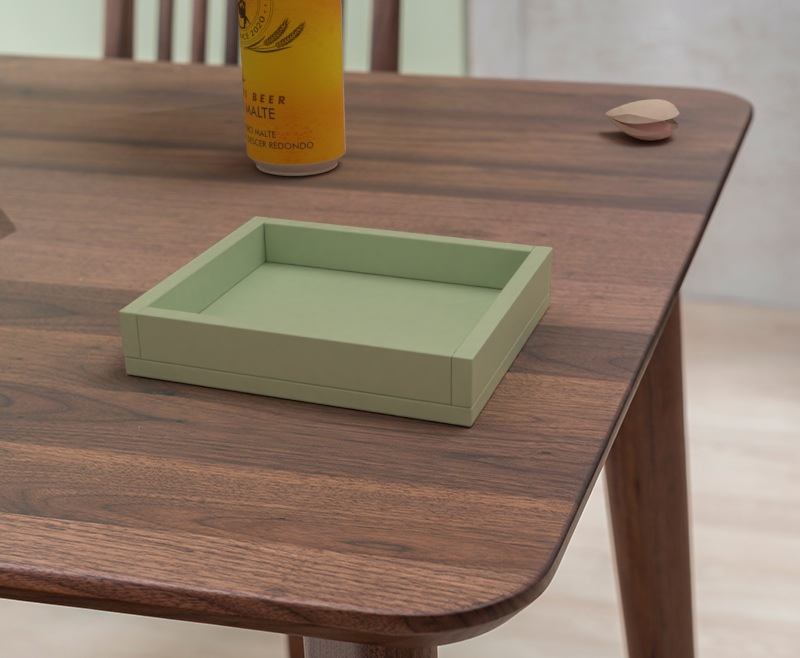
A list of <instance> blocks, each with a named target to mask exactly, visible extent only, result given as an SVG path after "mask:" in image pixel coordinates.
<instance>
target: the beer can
mask: <svg viewBox="0 0 800 658" xmlns="http://www.w3.org/2000/svg"><path fill="white" fill-rule="evenodd" d="M236 2H237V16H238V17H237V18H238V31H239V45H240V46H239V47H240V62H241V63H240V65H241V77H242V78H241V79H242V92H243V93H242V94H243V95H242V96H243V107H244V108H243V110H244V125H245V127H244V128H245V142H246V154H247V157H248V158H249V159H251V161H253V162H254V163H255V165H256V168H257V169H258V170H259V171H260V172H263V173H266V174H270V175H274V176H283V177H304V176H313V175H318V174H323V173H326V172H329V171H332V170H334V169H335V168H337V166H338V163H339V161H340V159H341V158H342V157H343V156H344V155H345V154H346V148H347V147H346V117H345V111H346V110H345V81H344V80H345V79H344V77H345V75H344V47H343V46H344V41H343V40H344V39H343V8H342V0H237V1H236Z"/></svg>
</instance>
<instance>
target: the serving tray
mask: <svg viewBox="0 0 800 658" xmlns="http://www.w3.org/2000/svg"><path fill="white" fill-rule="evenodd" d="M553 255H554V248H553V247H552V246H544V245H543V246H542V245H531V244H522V243H521V244H520V243H512V242H501V241H494V240H493V241H492V240H482V239H474V238H466V237H465V238H464V237H455V236H447V235H438V234H437V235H436V234H427V233H417V232H408V231H399V230H389V229H380V228H371V227H362V226H361V227H360V226H351V225H343V224H342V225H341V224H334V223H332V224H331V223H323V222H314V221H304V220H296V219H285V218H276V217H268V216H259V215H255V216H253V217H252V218H250V219H249V220H248V221H246V222H245V223H243V224H242V225H240V226H239V227H238V228H236V229H234V230H233V231H232V232H231V233H229V234H228V235H226V236H225V237H222V239H220V240H219V241H217V242H216V243H214V244H213V245H212V246H210V247H209V248H208V249H206V250H205V251H203V252H202V253H200V254H199V255H197V256H196V257H194V258H193V259H192V260H190V261H189V262H187V263H186V264H185V265H183V266H182V267H180V268H179V269H177V270H176V271H174V272H173V273H172V274H170V275H169V276H167V277H166V278H164V279H163V280H162V281H160V282H159V283H157V284H156V285H154V286H153V287H152V288H150V289H149V290H147V291H146V292H143V294H141V295H140V296H139V297H137V298H135V299H134V300H133V301H131V302H130V303H128V304H127V305H125V306H123V308H121V309H120V310H118V315H119V326H120V334H121V342H122V352H123V356H124V367H125V373H126V375H129V376H136V377H142V378H148V379H149V378H150V379H155V380H163V381H169V382H177V383H182V384H188V385H194V386H201V387H207V388H213V389H220V390H227V391H233V392H239V393H246V394H247V393H248V394H253V395H260V396H267V397H273V398H279V399H287V400H293V401H299V402H306V403H312V404H319V405H324V406H330V407H331V406H332V407H333V406H334V407H339V408H345V409H352V410H353V409H354V410H359V411H364V412H371V413H378V414H384V415H390V416H397V417H404V418H410V419H415V420H416V419H417V420H424V421H430V422H437V423H443V424H450V425H457V426H463V427H468V428H469V427H472V426H473V424H474V423H475V422H476V420H477V418H478V417H479V416H480V414H481V412H482V410H483V409H484V407H485V406H486V404H487V403H488V402H489V399H490V398H491V397H492V395H493V394H494V392H495V391H496V389H497V387H498V386H499V384H500V382H501V381H502V379H504V377H505V375H506V374H507V372H508V371H509V369H510V368H511V366H512V364H513V363H514V361H515V359H516V358H517V356H518V355H519V354H520V352H521V350H522V349H523V347H524V346H525V344H526V343H527V341H528V340H529V338H530V336H532V334H533V332H534V330H535V329H536V327H537V326H538V324H539V322H540V321H541V319H542V318H543V316H544V315H545V313H546V312H547V310H548V309H549V307H550V305H551V293H552V292H551V289H552V275H553V274H552V273H553Z"/></svg>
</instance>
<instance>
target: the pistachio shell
mask: <svg viewBox="0 0 800 658" xmlns="http://www.w3.org/2000/svg"><path fill="white" fill-rule="evenodd" d="M679 115H680V111H679V110H678V108H677V107H676V106H675V104H673V103H672V102H670V101H668V100H665V99H660V98H651V99H642V100H636V101H632V102H628V103H625V104H622V105H619V106H616V107H614V108H612V109H609V110H607V111H606V112H605V116H606V117H607V119H608V120H609V121H610V122H611V123H612V124H613V125H614V126H616V127H617V128H618V129H619V130H620V131H622V133H625V134H627V136H630V137H632V138H634V139H637V140H641V141H650V142H652V141H658V140H659V141H660V140H663V139H668V138H669V137H670V136H671V135H673V133H675V131H676V130H677V128H679V123H678V122H677V121H676V120H675V119H674V118H676V117H678V116H679Z"/></svg>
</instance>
